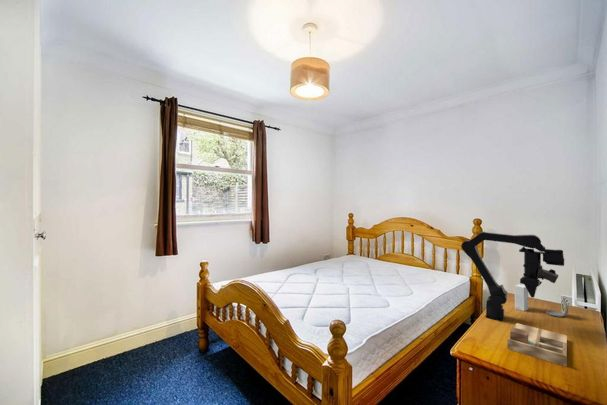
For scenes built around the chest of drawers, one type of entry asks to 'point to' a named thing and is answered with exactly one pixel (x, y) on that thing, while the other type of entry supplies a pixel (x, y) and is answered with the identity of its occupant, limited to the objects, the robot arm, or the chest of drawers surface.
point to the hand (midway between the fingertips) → (532, 297)
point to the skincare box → (521, 298)
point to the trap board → (542, 345)
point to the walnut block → (519, 335)
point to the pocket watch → (563, 308)
